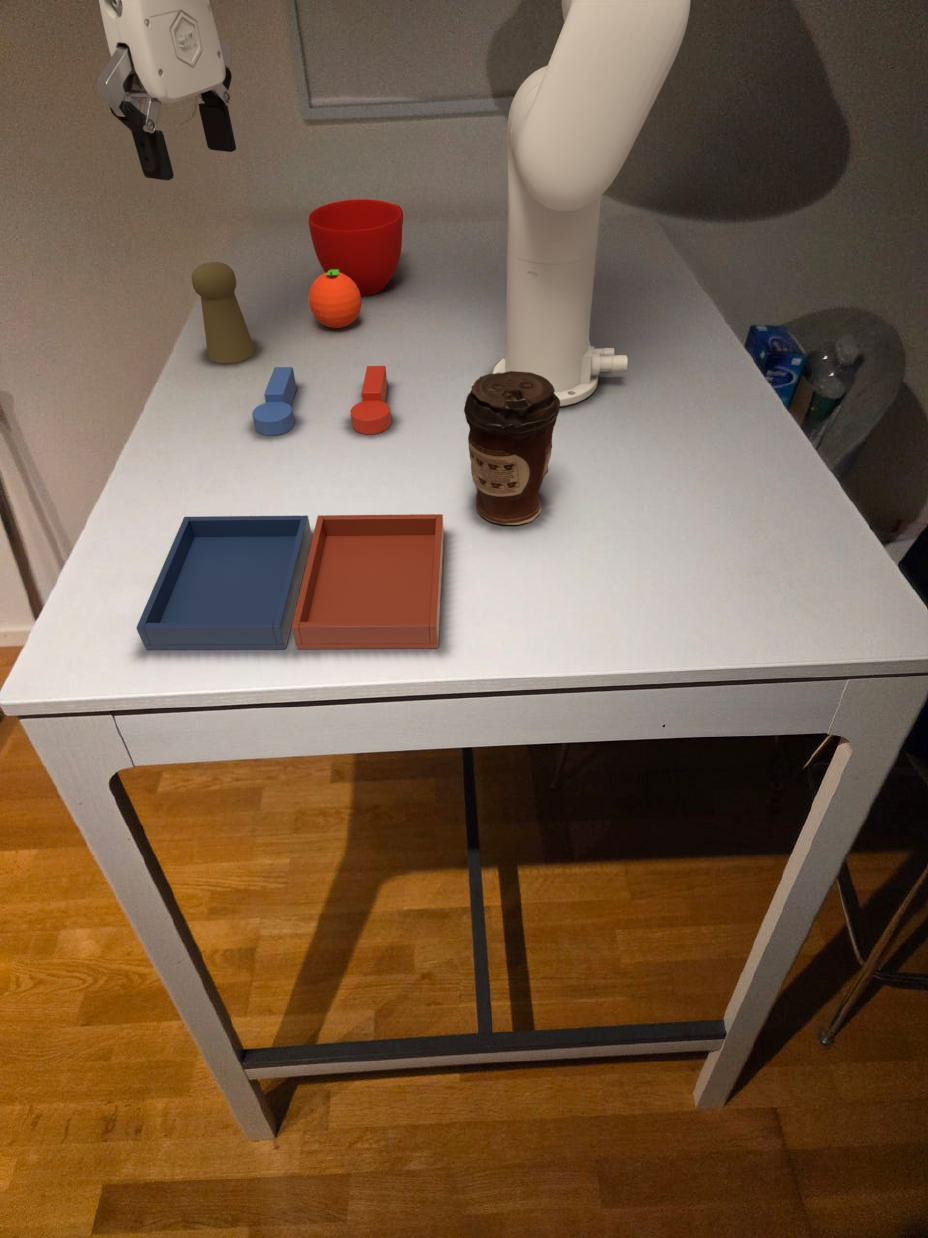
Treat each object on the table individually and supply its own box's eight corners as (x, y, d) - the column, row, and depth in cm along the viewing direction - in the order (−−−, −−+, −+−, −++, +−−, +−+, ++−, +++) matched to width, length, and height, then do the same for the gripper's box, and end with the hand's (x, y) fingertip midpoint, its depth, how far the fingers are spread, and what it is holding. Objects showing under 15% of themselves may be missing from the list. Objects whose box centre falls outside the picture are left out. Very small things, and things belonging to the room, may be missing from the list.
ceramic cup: (438, 270, 121) (435, 199, 114) (371, 312, 111) (363, 237, 104) (370, 255, 126) (363, 186, 119) (300, 293, 116) (288, 220, 109)
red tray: (443, 535, 75) (442, 513, 73) (438, 648, 65) (436, 626, 63) (321, 537, 76) (317, 515, 74) (296, 649, 65) (291, 627, 63)
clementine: (318, 311, 111) (310, 259, 106) (367, 310, 111) (362, 258, 106) (308, 337, 106) (299, 283, 101) (360, 336, 105) (354, 282, 100)
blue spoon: (269, 388, 96) (265, 366, 94) (305, 388, 96) (302, 366, 94) (251, 435, 89) (246, 413, 87) (291, 435, 88) (286, 413, 87)
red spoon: (360, 387, 96) (357, 365, 94) (396, 386, 96) (394, 365, 94) (350, 434, 88) (347, 412, 86) (389, 434, 88) (387, 411, 86)
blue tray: (312, 537, 76) (308, 515, 74) (285, 649, 65) (279, 627, 63) (191, 538, 76) (184, 516, 74) (145, 650, 65) (135, 627, 64)
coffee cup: (523, 546, 74) (529, 422, 65) (448, 518, 77) (443, 397, 68) (566, 498, 79) (576, 377, 70) (494, 474, 82) (495, 355, 73)
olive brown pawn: (244, 365, 101) (223, 276, 93) (199, 361, 101) (175, 274, 94) (262, 343, 105) (243, 257, 97) (219, 340, 106) (198, 254, 98)
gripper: (97, -54, 60) (164, 194, 72) (236, -75, 71) (274, 143, 83) (24, -55, 62) (100, 185, 74) (169, -75, 73) (215, 137, 85)
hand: (192, 163), depth 78 cm, fingers open, 9 cm apart
